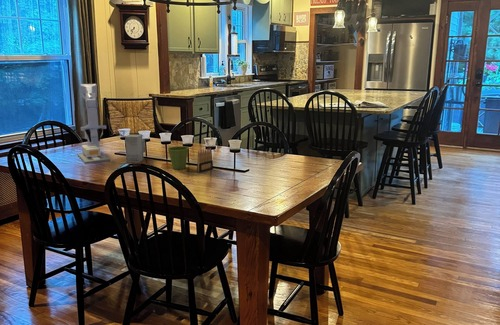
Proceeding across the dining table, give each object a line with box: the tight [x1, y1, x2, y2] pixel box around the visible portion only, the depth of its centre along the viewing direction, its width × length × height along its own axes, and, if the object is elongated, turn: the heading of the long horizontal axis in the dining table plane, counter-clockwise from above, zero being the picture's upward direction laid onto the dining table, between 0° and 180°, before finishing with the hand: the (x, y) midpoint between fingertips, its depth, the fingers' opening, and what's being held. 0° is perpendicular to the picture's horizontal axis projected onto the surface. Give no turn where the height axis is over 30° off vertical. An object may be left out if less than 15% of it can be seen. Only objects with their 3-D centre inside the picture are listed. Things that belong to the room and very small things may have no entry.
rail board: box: [77, 144, 111, 165], centre depth 277 cm, size 26×14×6 cm, turn 29°
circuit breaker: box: [124, 133, 146, 163], centre depth 272 cm, size 8×14×15 cm, turn 174°
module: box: [85, 147, 102, 157], centre depth 276 cm, size 5×8×4 cm, turn 119°
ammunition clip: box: [196, 147, 214, 174], centre depth 244 cm, size 11×2×12 cm, turn 142°
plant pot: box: [167, 145, 190, 170], centre depth 250 cm, size 12×12×11 cm
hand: (94, 141), depth 275 cm, fingers open, 4 cm apart
